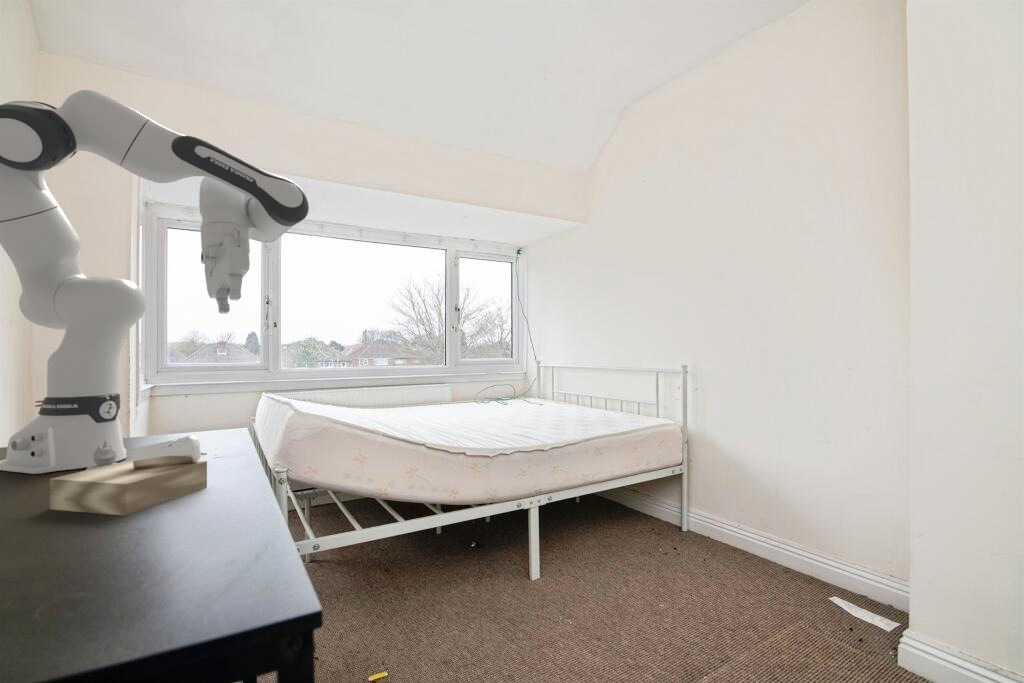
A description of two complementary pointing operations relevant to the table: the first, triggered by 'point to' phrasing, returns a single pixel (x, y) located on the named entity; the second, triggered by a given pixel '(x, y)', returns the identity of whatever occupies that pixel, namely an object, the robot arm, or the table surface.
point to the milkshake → (167, 453)
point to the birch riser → (125, 487)
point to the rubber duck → (104, 456)
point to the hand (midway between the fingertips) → (229, 306)
